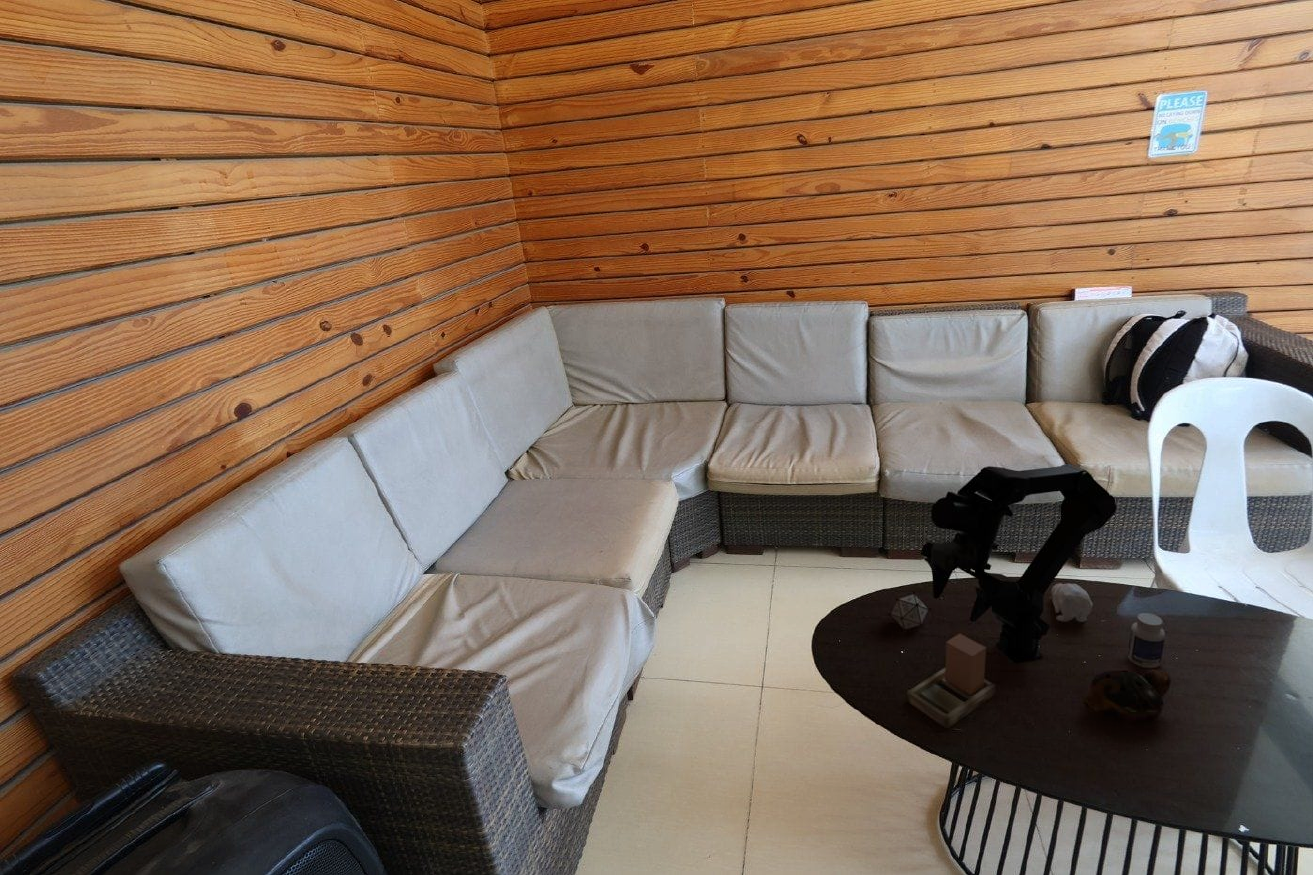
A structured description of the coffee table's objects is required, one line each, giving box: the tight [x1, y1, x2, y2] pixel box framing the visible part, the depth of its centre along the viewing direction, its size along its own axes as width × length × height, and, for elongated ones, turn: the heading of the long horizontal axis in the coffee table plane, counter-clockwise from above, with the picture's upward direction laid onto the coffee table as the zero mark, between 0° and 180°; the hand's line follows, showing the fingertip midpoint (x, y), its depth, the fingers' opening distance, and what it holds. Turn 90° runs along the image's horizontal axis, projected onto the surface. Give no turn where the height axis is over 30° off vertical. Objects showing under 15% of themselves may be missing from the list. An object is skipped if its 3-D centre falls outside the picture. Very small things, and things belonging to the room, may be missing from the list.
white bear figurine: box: [1049, 582, 1093, 623], centre depth 149 cm, size 6×8×12 cm
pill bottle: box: [1127, 612, 1166, 669], centre depth 132 cm, size 5×5×10 cm
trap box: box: [906, 667, 996, 729], centre depth 130 cm, size 14×9×2 cm, turn 121°
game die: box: [886, 590, 933, 634], centre depth 150 cm, size 9×8×10 cm
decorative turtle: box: [1082, 668, 1172, 725], centre depth 121 cm, size 10×15×8 cm, turn 100°
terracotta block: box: [944, 633, 987, 695], centre depth 130 cm, size 4×6×9 cm
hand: (953, 609), depth 129 cm, fingers open, 9 cm apart
